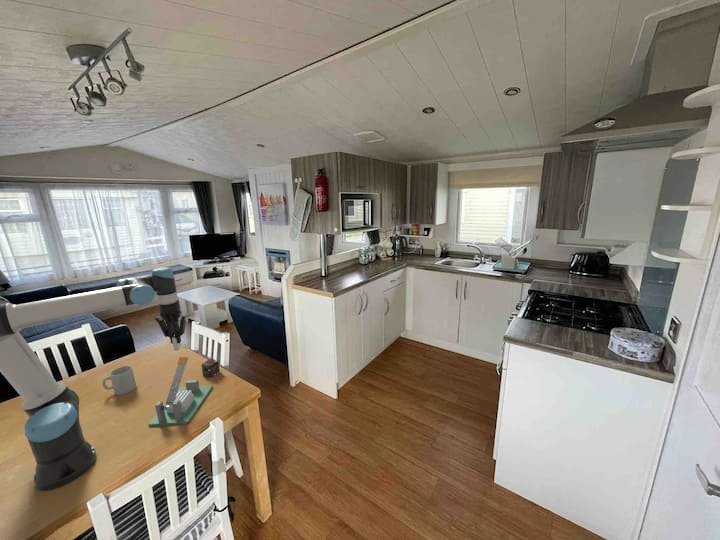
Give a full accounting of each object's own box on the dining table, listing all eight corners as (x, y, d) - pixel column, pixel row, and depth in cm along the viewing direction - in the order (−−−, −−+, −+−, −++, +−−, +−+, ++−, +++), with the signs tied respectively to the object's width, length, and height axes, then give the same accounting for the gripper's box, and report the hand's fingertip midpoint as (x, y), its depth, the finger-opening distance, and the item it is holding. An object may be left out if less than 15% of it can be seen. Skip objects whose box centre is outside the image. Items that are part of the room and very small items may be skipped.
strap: (174, 409, 118) (172, 408, 116) (162, 410, 117) (160, 409, 116) (190, 357, 131) (188, 356, 130) (179, 358, 131) (177, 357, 129)
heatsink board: (188, 423, 118) (184, 404, 115) (148, 426, 117) (144, 407, 114) (212, 387, 141) (210, 370, 139) (180, 389, 140) (177, 372, 138)
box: (202, 376, 150) (200, 364, 148) (211, 370, 156) (209, 358, 154) (211, 378, 148) (209, 366, 147) (220, 371, 154) (218, 360, 152)
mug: (137, 382, 146) (133, 363, 143) (135, 391, 139) (130, 371, 136) (107, 390, 139) (102, 371, 137) (103, 400, 132) (98, 380, 130)
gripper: (187, 298, 128) (195, 344, 133) (157, 299, 126) (167, 346, 132) (179, 304, 120) (188, 352, 126) (147, 305, 119) (157, 354, 125)
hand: (177, 349), depth 129 cm, fingers closed
